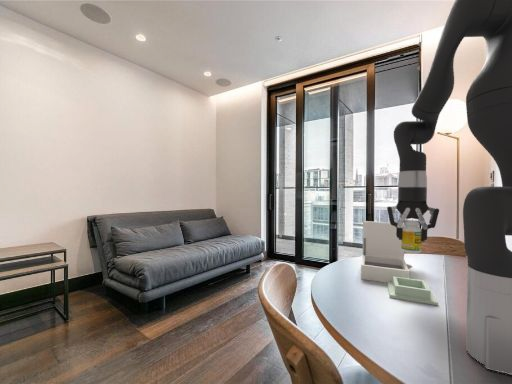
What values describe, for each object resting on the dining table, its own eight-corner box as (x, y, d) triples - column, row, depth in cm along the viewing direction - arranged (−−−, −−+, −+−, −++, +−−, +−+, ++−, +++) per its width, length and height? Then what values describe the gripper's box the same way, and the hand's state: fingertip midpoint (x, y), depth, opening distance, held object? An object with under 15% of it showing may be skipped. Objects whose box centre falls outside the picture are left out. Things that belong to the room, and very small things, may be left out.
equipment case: (409, 285, 84) (409, 229, 83) (360, 278, 90) (361, 226, 90) (403, 270, 99) (404, 223, 99) (362, 265, 106) (363, 221, 105)
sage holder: (438, 305, 70) (438, 293, 70) (389, 297, 75) (389, 286, 75) (429, 289, 80) (429, 279, 80) (387, 283, 86) (387, 274, 86)
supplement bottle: (406, 248, 81) (406, 218, 81) (424, 251, 77) (425, 220, 76) (397, 250, 78) (398, 220, 78) (416, 254, 74) (416, 222, 73)
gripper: (386, 185, 77) (385, 240, 77) (443, 186, 71) (442, 245, 71) (385, 186, 83) (384, 236, 84) (437, 186, 77) (436, 240, 78)
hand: (411, 240), depth 77 cm, fingers closed on supplement bottle, 5 cm apart
